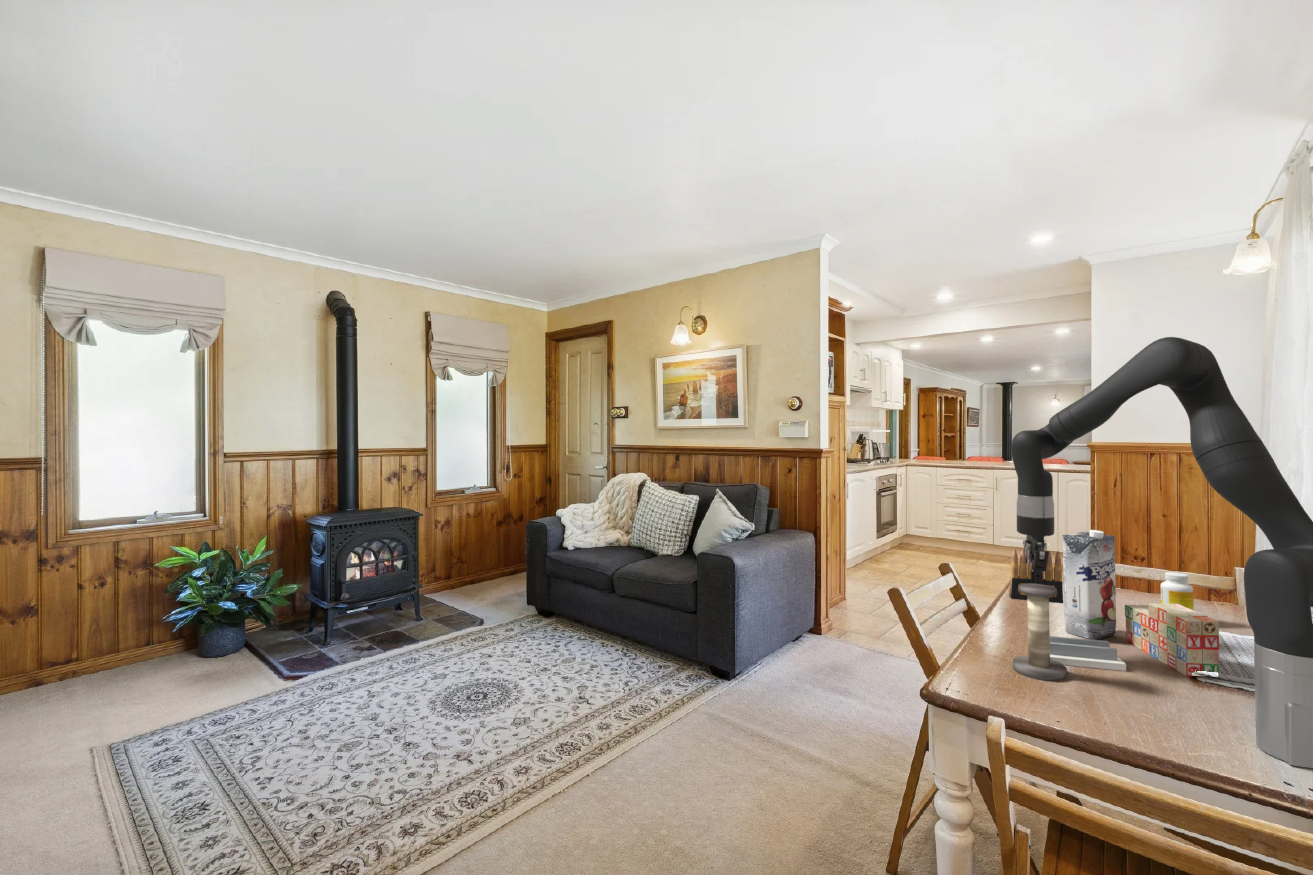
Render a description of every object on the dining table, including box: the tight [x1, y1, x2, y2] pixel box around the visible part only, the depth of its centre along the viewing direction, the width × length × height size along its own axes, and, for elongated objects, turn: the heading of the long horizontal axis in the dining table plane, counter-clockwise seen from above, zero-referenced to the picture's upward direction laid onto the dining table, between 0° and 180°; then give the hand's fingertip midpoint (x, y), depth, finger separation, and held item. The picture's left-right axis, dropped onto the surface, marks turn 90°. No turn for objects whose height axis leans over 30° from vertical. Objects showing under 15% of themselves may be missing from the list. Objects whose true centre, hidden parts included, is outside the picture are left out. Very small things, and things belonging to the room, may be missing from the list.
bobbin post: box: [1012, 583, 1068, 682], centre depth 128 cm, size 10×10×18 cm
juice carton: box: [1061, 529, 1117, 640], centre depth 149 cm, size 9×10×27 cm
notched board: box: [1050, 635, 1127, 672], centre depth 134 cm, size 9×15×4 cm, turn 69°
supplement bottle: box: [1160, 571, 1195, 611], centre depth 158 cm, size 7×7×13 cm
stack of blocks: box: [1124, 602, 1220, 677], centre depth 133 cm, size 21×6×12 cm, turn 170°
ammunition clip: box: [1008, 548, 1064, 604], centre depth 138 cm, size 11×2×12 cm, turn 69°
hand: (1035, 585), depth 138 cm, fingers closed on ammunition clip, 2 cm apart
